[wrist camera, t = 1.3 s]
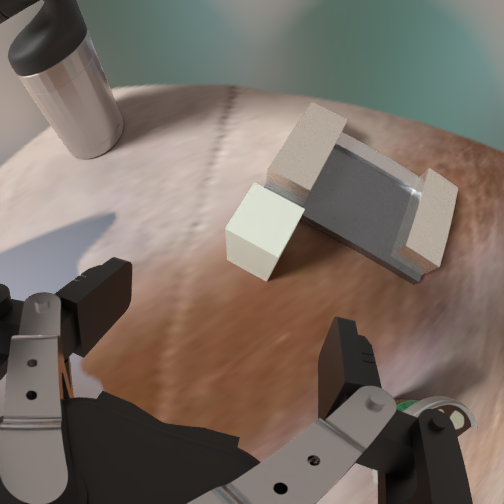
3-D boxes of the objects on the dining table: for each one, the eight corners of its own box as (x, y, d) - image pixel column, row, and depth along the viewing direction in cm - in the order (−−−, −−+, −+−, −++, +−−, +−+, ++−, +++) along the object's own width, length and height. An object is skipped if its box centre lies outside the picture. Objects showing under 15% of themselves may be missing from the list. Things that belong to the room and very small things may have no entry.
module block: (227, 259, 36) (225, 228, 27) (249, 223, 37) (254, 182, 28) (266, 281, 36) (278, 257, 26) (287, 244, 37) (305, 209, 27)
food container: (421, 371, 33) (471, 374, 24) (432, 413, 32) (481, 425, 22) (333, 416, 32) (367, 438, 22) (347, 458, 30) (382, 490, 21)
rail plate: (259, 198, 38) (263, 175, 33) (306, 123, 42) (314, 97, 37) (413, 284, 36) (437, 274, 31) (438, 199, 40) (459, 182, 35)
